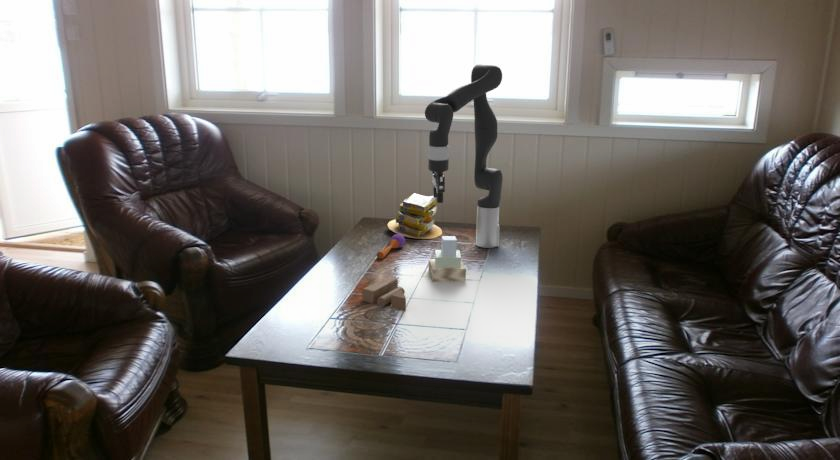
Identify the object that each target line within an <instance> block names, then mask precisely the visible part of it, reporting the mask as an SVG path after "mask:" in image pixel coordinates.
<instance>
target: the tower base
mask: <svg viewBox="0 0 840 460" xmlns="http://www.w3.org/2000/svg"><path fill="white" fill-rule="evenodd" d="M428 272H429V275H430V278H431V281H432V282H435V283H436V282H439V283H440V282H466V280H467V279H466V278H467V277H466V276H467V268H466V266H465V264H464V263H463V260H461V268H436V264H435V258H429V259H428Z"/></svg>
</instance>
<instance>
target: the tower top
mask: <svg viewBox="0 0 840 460" xmlns="http://www.w3.org/2000/svg"><path fill="white" fill-rule="evenodd" d="M434 251H435V252H434V259H435V264H436V268H461V261H462V256H461V251H460V249H456V256H442V253H441V249H435V250H434Z"/></svg>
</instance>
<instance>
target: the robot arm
mask: <svg viewBox="0 0 840 460" xmlns="http://www.w3.org/2000/svg"><path fill="white" fill-rule="evenodd" d="M470 75H471V76H470V81H471V82H470V83H468V84H464V85H462V86H459V87H457V88H455V89H453V90H452V91H451V92H450V93H448V94H447V95H445V96H443V97H440V98H438V99H436V100H433V101H431V102H430V103H429V104H428V105H426V108H425V109H424V116H425V118H426V120H427V121H429V122H431V123H437V124H438V126H437V128H434V129H431V130H430V131H429V134H428V135H429V139H428V140H429V141H428V142H429V143H428V144H429V146H428V158H427V159H428V161H427V162H428V165H427V167H428V169H427V170H429V172H432V174H431V176H432V177H431V180H432V181H431V184H432V187H433V189H432V190H433V191H432V192H433V193H432V196H433V197H435V198H436V203H437V204H439V203H440V204H443V202H444V193H445V192H446V187H445V184H446V182H445V181H446V180H445V179H446V177H445V175H444V173H443V172H447V171H448V170H449V166H450V165H449V163H450V161H449V160H450V159H449V158H450V156H449V155H450V153H449V152H450V151H449V135H450V130H451V126H452V123H453V119H454V113H457V112H458V111H460V110H461V109H462V108H464V107H465V106H466V105H468V103H471V102H472V101H473V112H474V117H473V118H474V125H473V126H474V147H475V148H474V149H475V156H474V157H475V158H474V174H473V176H474V179H473V180H474V185H475V188H477V189H479V190H485V191H488V192H489V193H488V195H486V196H481V197H479V198H478V199H477V208H476V230H475V231H476V233H475V235H476V236H475V246H477V247H480V248H484V249H486V248H487V249H489V248H490V249H492V248H497V247H499V246H500V245H499V244H500V243H499V241H500V227H501V226H500V224H499V220H500V219H499V217H500V203H501V197H502V188H503V172H502V170H501V169H498V168H492V167H487V158H488V156H489V153H490V151H491V150H492V148H493V147H494V145H495V143H496V142H497V139H498V119H497V117H496V115H495V112H494V111H493V108H491V106H490V103H489V102H488V97H487V93H488V92H491V91H493V90H495V89H497V88H499V86H500V85H501V83H502V80H503V73H502V69H501V68H500V67H499V66H497V65H493V64H475V65H474V66H473V68H472V70H471V74H470Z"/></svg>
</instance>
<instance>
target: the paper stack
mask: <svg viewBox="0 0 840 460" xmlns="http://www.w3.org/2000/svg"><path fill="white" fill-rule="evenodd" d="M436 201H437V197H433V195H430V196H427V195H424V194H423V195H422V194H419V193H416V192H414V193H413V194H411V195H409V196H408V197H406V198H405V199H404V200H402V203H400V204H399V207H398V208H399V209H398V210H397V214H396V215H395V219H392V220H389V222H388V223H387V227H388V229H389V230H390V231H392V232H393V233H395V234H401V235H402V236H403V237H406V238H412V239H416V240H417V239H419V240H429V239H435V238H437V237H439V236H442V234H443V231H442V230H443V229H441V228H440V227H439V226H438V225H436V224H435V220H436V219H435V218H433V216H434V215H436V213H437V212H438V205H435V204H436Z"/></svg>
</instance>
